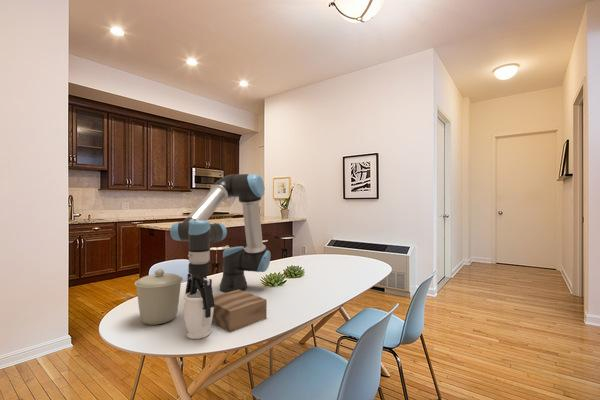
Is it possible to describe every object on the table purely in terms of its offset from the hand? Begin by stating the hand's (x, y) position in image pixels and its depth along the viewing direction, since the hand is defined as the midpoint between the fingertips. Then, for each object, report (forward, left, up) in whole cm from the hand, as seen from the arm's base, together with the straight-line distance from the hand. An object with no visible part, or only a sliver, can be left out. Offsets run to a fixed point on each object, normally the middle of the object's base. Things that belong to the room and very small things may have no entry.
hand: (199, 321), depth 110 cm
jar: (0, 0, -5) cm, 5 cm away
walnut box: (-3, +18, -5) cm, 19 cm away
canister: (-24, -5, -5) cm, 25 cm away
